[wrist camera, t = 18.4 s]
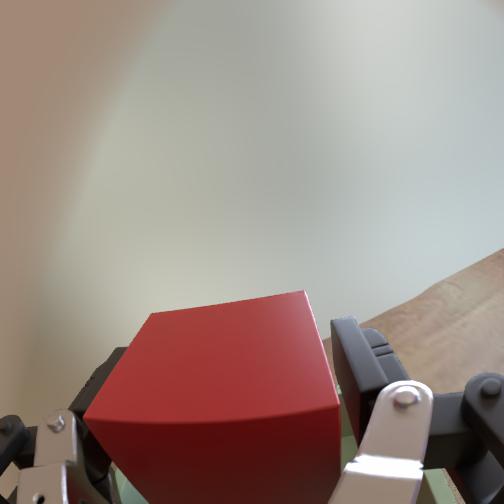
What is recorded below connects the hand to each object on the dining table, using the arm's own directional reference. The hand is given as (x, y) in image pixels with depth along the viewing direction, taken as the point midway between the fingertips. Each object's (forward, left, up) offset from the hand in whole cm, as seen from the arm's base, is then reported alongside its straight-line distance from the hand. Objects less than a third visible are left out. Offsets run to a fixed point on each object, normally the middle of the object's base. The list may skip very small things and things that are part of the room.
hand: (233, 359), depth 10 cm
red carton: (0, -2, -10) cm, 10 cm away
